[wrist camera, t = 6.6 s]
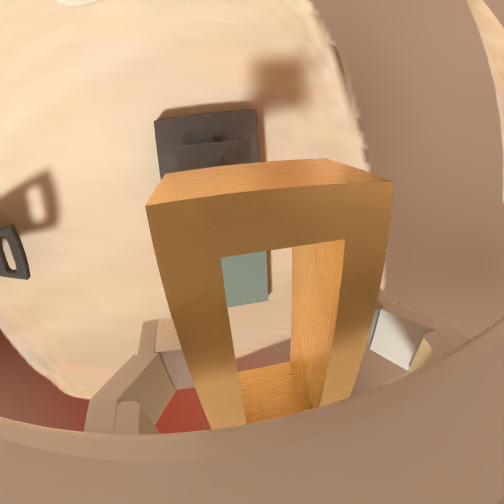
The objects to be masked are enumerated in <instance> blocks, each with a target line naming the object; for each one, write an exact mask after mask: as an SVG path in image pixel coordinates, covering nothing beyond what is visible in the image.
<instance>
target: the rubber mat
mask: <svg viewBox="0 0 504 504" xmlns="http://www.w3.org/2000/svg"><path fill="white" fill-rule="evenodd" d="M221 266H222V273H223V281H224V288H225V295H226V302H227V307H233V306H239V305H245V304H251V303H257V302H263V301H268V276H267V251H262V252H255V253H248V254H242V255H235V256H228V257H221Z"/></svg>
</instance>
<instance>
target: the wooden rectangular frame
mask: <svg viewBox="0 0 504 504" xmlns="http://www.w3.org/2000/svg"><path fill="white" fill-rule="evenodd" d="M393 187H394V181H392V180H389V179H386V178H383V177H380V176H378V175H375V174H372V173H369V172H366V171H363V170H360V169H357V168H354V167H351V166H348V165H345V164H342V163H339V162H335V161H332V160H329V159H302V160H284V161H269V162H257V163H246V164H236V165H226V166H218V167H210V168H202V169H194V170H187V171H181V172H174V173H168V174H165V175H164V176H163V178H162V180H161V181H160V183H159V184H158V186H157V188H156V189H155V191H154V192H153V194H152V196H151V197H150V199H149V201H148V202H147V204H146V206H145V207H146V212H147V217H148V223H149V227H150V232H151V237H152V242H153V246H154V250H155V255H156V259H157V263H158V267H159V271H160V275H161V279H162V283H163V287H164V291H165V295H166V298H167V302H168V305H169V309H170V312H171V316H172V319H173V323H174V326H175V329H176V332H177V336H178V339H179V342H180V345H181V348H182V351H183V354H184V357H185V360H186V363H187V366H188V369H189V372H190V375H191V377H192V380H193V383H194V386H195V388H196V391H197V394H198V396H199V399H200V402H201V404H202V407H203V409H204V412H205V414H206V417H207V419H208V421H209V424H210V426H211V428H212V430H213V429H220V428H227V427H234V426H240V425H246V424H251V423H256V422H261V421H266V420H271V419H275V418H280V417H284V416H288V415H292V414H296V413H300V412H304V411H307V410H311V409H314V408H318V407H321V406H324V405H327V404H331V403H334V402H337V401H340V400H343V399H346V398H349V397H350V394H351V391H352V388H353V386H354V383H355V379H356V377H357V373H358V370H359V367H360V364H361V361H362V357H363V354H364V350H365V347H366V343H367V339H368V336H369V332H370V328H371V324H372V320H373V316H374V312H375V307H376V303H377V298H378V294H379V289H380V284H381V279H382V273H383V268H384V262H385V256H386V249H387V243H388V235H389V228H390V219H391V210H392V200H393ZM289 247H292V320H291V351H290V352H291V353H290V362H286V363H281V364H277V365H272V366H267V367H263V368H257V369H252V370H247V371H242V372H237V366H236V360H235V354H234V348H233V342H232V335H231V329H230V322H229V316H228V309H227V302H226V295H225V288H224V281H223V273H222V266H221V257H228V256H235V255H242V254H248V253H255V252H262V251H269V250H275V249H282V248H289Z"/></svg>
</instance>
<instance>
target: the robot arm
mask: <svg viewBox="0 0 504 504" xmlns="http://www.w3.org/2000/svg"><path fill="white" fill-rule="evenodd" d="M56 1H57V2H58V3H60V4H62V5H66V6H80V5H85V4H89V3H92V2H95V1H98V0H56ZM368 348H370V349H371V350H373V351H375V352H376V353H378V354H380V355H381V356H383V357H385V358H386V359H388V360H390V361H392V362H393V363H395V364H397V365H399V366H400V367H402V368H404V369H406V370H408V373H407V374H405V375H403V376H401V377H399V378H397V379H394V380H392V381H389V382H387V383H385V384H383V385H380V386H378V387H375V388H373V389H370V390H368V391H365V392H362V393H360V394H357V395H354V396H352V397H349V398H346V399H343V400H340V401H337V402H334V403H331V404H327V405H324V406H321V407H318V408H314V409H311V410H307V411H304V412H300V413H296V414H292V415H288V416H284V417H280V418H275V419H271V420H266V421H261V422H256V423H251V424H246V425H240V426H234V427H227V428H220V429H213V430H204V431H195V432H183V433H170V434H160V433H159V432H158V430H157V429H156V428H155V424H156V423H157V421H158V419H159V417H160V416H161V414H162V413H163V411H164V409H165V408H166V406H167V404H168V402H169V401H170V399H171V398H172V396H173V394H174V393H175V390H178V389H185V388H193V387H195V386H194V383H193V380H192V377H191V375H190V372H189V369H188V366H187V363H186V360H185V357H184V354H183V351H182V348H181V345H180V342H179V339H178V336H177V332H176V329H175V326H174V323H173V319H172V318H164V319H159V320H158V319H156V320H147V321H144V323H143V326H142V331H141V337H140V343H139V349H138V355H133V356H132V357H131V358H130V359H129V360H128V361H127V362H126V363H125V364H124V365H123V366H122V367H121V368H120V369H119V370H118V371H117V372H116V373H115V375H114V376H113V377H112V378H111V379H110V380H109V381H108V382H107V383H106V384H105V385H104V386H103V387H102V388H101V389H100V390H99V391H98V392H97V393H96V394H95V395H94V396H93V397H92V398H91V399H90V402H89V407H88V412H87V417H86V423H85V428H84V432H79V431H70V430H62V429H55V428H48V427H43V426H38V425H32V424H28V423H23V422H18V421H14V420H10V419H6V418H2V417H0V504H504V317H502V319H500V320H498V321H497V322H496V323H494V324H493V325H491V326H490V327H488V328H487V329H485V330H484V331H482V332H481V333H479V334H478V335H477V336H475V337H473V338H472V339H470V340H469V339H468V338H467V337H466V336H465V335H464V334H463V333H462V332H461V331H460V330H459V329H458V328H457V327H456V326H455V325H454V324H453V323H452V322H451V321H449V320H445V319H443V318H440V317H437V316H434V315H431V314H429V313H425V312H423V311H420V310H417V309H414V308H411V307H408V306H405V305H403V304H400V303H397V304H395V303H394V302H393V301H392V300H391V299H390V298H389V297H388V296H387V295H386V294H385V293H384V292H383V291H382V290H381V289H379V294H378V298H377V303H376V307H375V312H374V316H373V320H372V324H371V328H370V332H369V336H368V339H367V343H366V347H365V349H368Z"/></svg>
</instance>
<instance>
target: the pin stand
mask: <svg viewBox="0 0 504 504" xmlns="http://www.w3.org/2000/svg"><path fill="white" fill-rule="evenodd" d="M154 127H155V137H156V145H157V154H158V162H159V169H160V176H161V180H162V178H163V176H164V175H165V174H168V173H174V172H181V171H187V170H194V169H202V168H210V167H218V166H226V165H236V164H246V163H257V162H259V148H258V131H257V114H256V110H241V111H227V112H216V113H206V114H197V115H189V116H182V117H175V118H168V119H162V120H156V121H154Z"/></svg>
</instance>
